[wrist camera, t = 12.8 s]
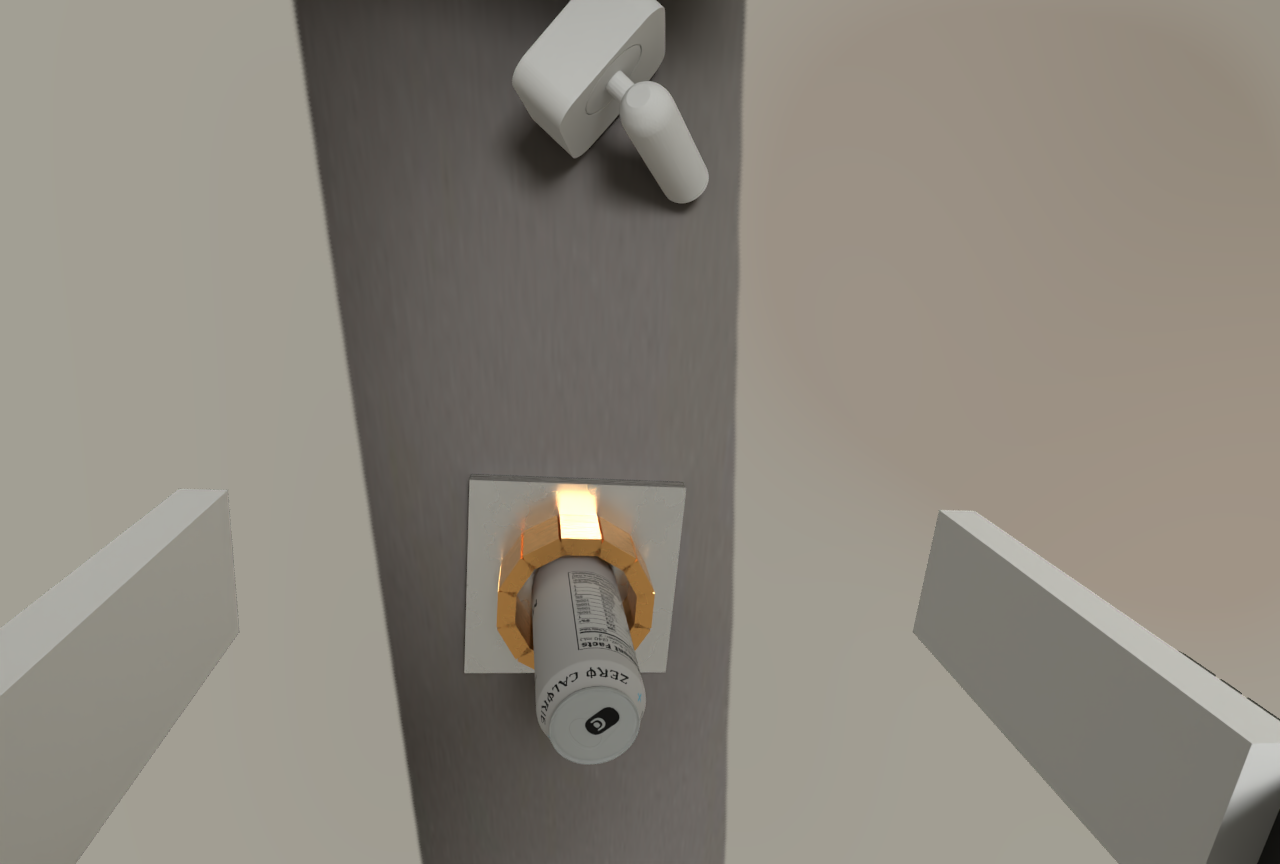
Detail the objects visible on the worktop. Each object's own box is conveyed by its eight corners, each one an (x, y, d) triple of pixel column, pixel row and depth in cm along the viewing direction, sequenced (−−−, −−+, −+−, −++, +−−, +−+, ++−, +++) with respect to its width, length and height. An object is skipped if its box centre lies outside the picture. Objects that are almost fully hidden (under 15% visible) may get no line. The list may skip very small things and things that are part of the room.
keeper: (471, 474, 50) (464, 501, 45) (682, 481, 52) (698, 509, 48) (465, 663, 54) (458, 708, 49) (662, 663, 56) (675, 705, 52)
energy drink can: (513, 578, 51) (512, 725, 37) (582, 529, 51) (608, 658, 37) (564, 634, 53) (582, 792, 39) (631, 587, 53) (673, 730, 39)
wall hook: (657, 245, 47) (655, 218, 37) (540, 133, 46) (505, 75, 36) (744, 149, 46) (766, 95, 36) (625, 34, 46) (614, -53, 36)
